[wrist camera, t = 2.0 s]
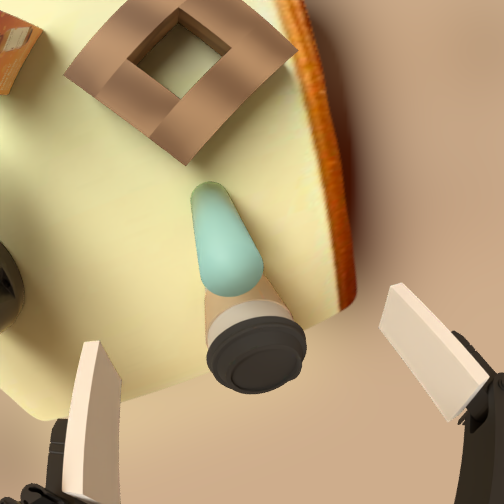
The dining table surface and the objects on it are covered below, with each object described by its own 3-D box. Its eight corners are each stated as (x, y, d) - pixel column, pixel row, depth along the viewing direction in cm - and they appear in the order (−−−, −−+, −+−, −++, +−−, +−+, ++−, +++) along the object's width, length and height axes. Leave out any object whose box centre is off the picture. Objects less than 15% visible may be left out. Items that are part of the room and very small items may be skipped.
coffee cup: (193, 306, 36) (207, 407, 23) (198, 242, 32) (215, 340, 19) (261, 306, 39) (299, 397, 26) (275, 246, 35) (330, 333, 22)
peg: (211, 224, 31) (235, 306, 20) (182, 203, 30) (187, 277, 18) (236, 197, 31) (275, 264, 19) (207, 174, 29) (229, 229, 17)
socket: (184, 156, 27) (185, 166, 23) (81, 78, 21) (62, 75, 16) (279, 58, 24) (298, 50, 20) (179, -22, 18) (179, -43, 13)
